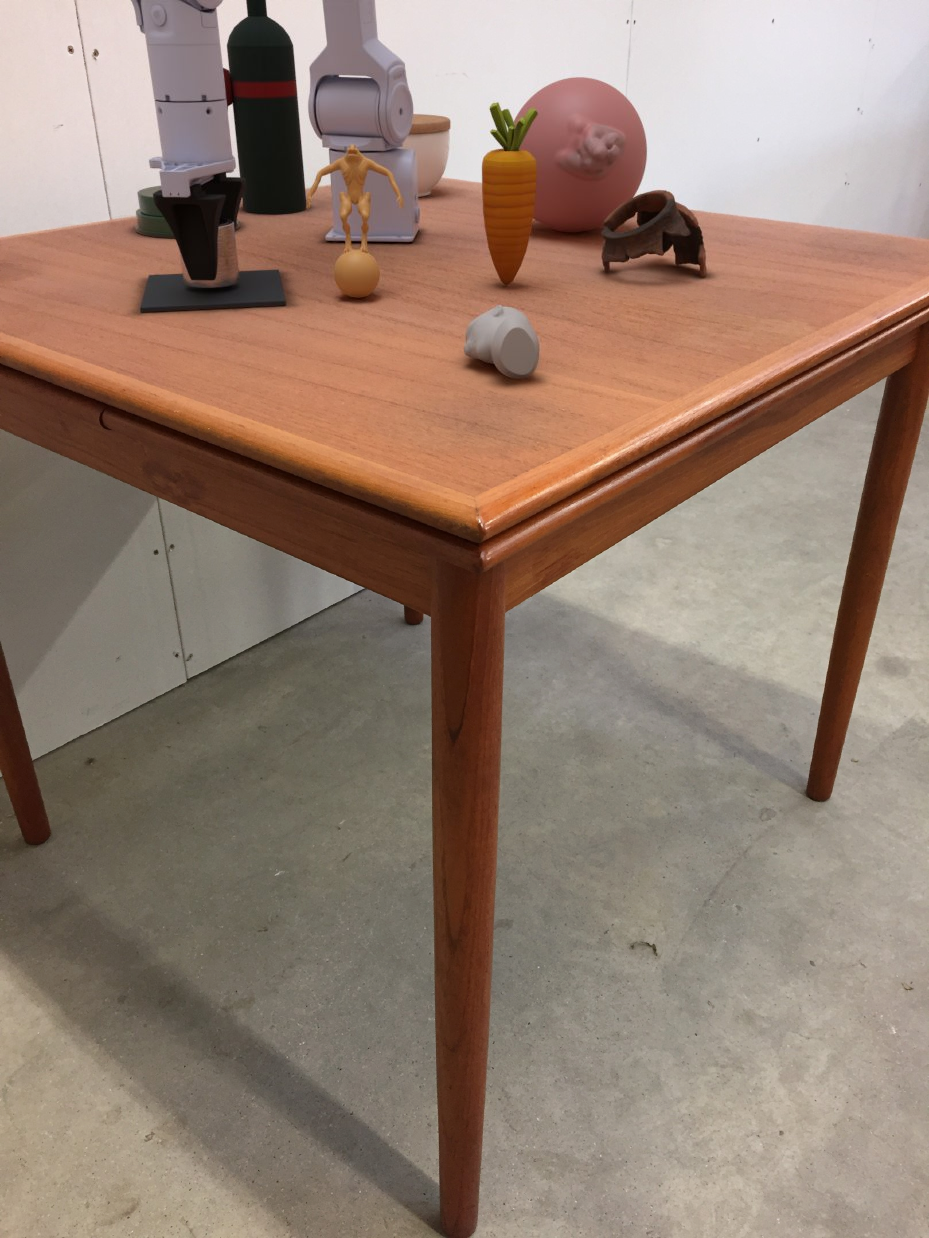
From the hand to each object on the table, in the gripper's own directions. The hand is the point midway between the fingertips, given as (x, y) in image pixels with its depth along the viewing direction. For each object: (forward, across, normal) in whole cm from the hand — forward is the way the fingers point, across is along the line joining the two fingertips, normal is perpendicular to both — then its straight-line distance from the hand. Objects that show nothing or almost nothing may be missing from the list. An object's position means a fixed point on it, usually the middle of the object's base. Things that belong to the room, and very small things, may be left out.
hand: (212, 272), depth 89 cm
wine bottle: (+2, -42, -5) cm, 42 cm away
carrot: (+2, -4, +26) cm, 26 cm away
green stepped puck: (+2, -29, -11) cm, 31 cm away
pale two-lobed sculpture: (+2, +20, +26) cm, 33 cm away
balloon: (+2, -28, +33) cm, 43 cm away
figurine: (+2, 0, +13) cm, 13 cm away
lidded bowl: (+2, -55, +11) cm, 56 cm away
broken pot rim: (+2, -11, +40) cm, 42 cm away
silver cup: (+1, 0, 0) cm, 1 cm away
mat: (+2, 0, 0) cm, 2 cm away
